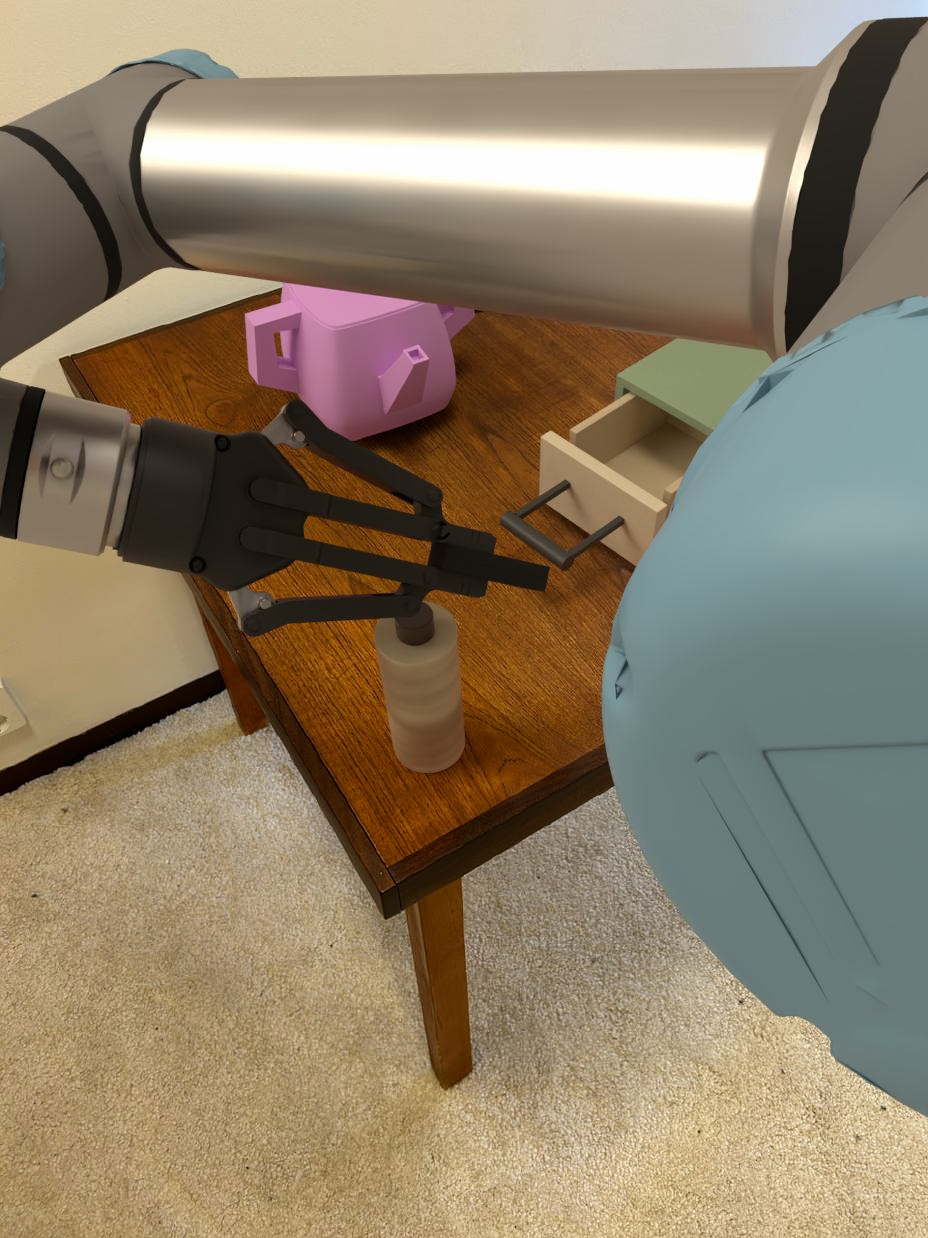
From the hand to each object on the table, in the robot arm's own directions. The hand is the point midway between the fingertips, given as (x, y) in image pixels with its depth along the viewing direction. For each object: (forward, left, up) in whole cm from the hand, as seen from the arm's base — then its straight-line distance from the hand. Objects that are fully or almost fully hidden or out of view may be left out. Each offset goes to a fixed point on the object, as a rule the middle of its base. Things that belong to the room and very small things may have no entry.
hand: (537, 578), depth 57 cm
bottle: (+4, +6, -16) cm, 18 cm away
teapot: (+39, -16, -16) cm, 45 cm away
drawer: (+10, -21, -15) cm, 28 cm away
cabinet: (+10, -35, -16) cm, 40 cm away
